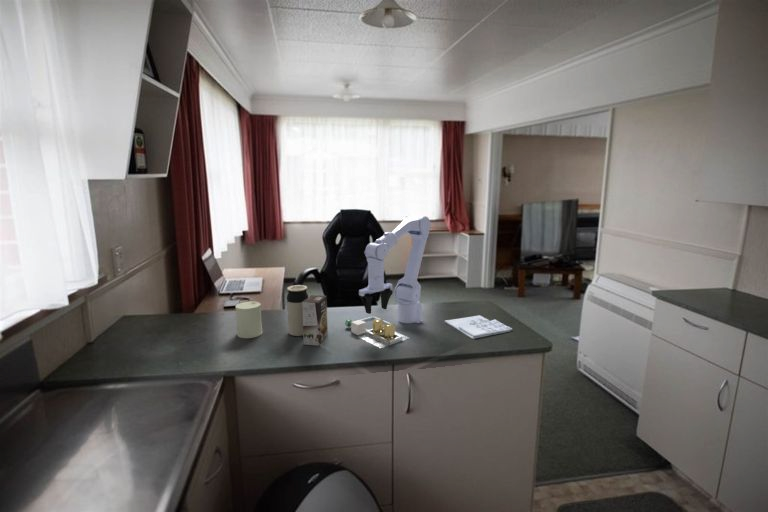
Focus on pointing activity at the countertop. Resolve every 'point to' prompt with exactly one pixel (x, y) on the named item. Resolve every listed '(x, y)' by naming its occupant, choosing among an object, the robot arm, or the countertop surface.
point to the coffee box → (314, 319)
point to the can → (249, 319)
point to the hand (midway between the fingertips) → (376, 310)
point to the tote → (373, 319)
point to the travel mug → (296, 309)
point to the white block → (358, 327)
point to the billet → (377, 326)
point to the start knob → (348, 322)
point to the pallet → (382, 338)
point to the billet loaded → (389, 331)
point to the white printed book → (478, 326)
